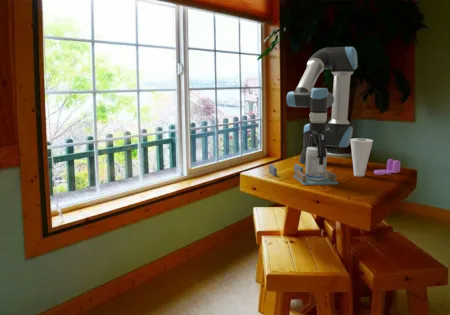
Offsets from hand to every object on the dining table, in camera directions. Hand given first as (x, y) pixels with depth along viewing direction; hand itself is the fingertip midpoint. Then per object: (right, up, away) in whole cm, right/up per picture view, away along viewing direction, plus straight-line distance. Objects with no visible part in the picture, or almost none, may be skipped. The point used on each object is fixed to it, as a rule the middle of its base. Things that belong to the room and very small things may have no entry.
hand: (315, 168), depth 184 cm
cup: (+25, -4, +12) cm, 28 cm away
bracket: (+40, -3, +18) cm, 44 cm away
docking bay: (0, -5, +1) cm, 6 cm away
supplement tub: (0, -5, +1) cm, 5 cm away
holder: (-12, -3, +14) cm, 19 cm away
